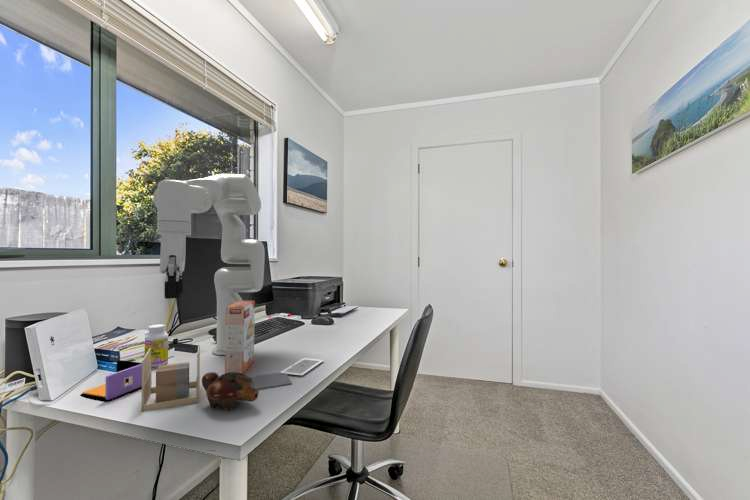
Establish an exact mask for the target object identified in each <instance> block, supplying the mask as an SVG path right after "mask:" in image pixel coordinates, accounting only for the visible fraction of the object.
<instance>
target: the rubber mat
mask: <svg viewBox="0 0 750 500" xmlns="http://www.w3.org/2000/svg"><path fill="white" fill-rule="evenodd" d="M250 379H251V381H252V387H253V388H256V389H257V390H258V391H260V390H264V389H271V388H278V387H283V386H288V385H292V384H293V382H292V381H291V379H290V377H289V376H288V374H286V373H279V372H274V373H267V374H259V375H253V376H252V375H251V376H250Z"/></svg>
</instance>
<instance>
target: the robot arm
mask: <svg viewBox="0 0 750 500" xmlns="http://www.w3.org/2000/svg"><path fill="white" fill-rule="evenodd" d="M152 199H153V203H154V206H155V208H156V211H157V213H156V214H157V217H156V222H157V223H156V228H157V229H156V230H157V231H156V235H161V237H160V253H159V255H160V258H159V273H160V274H161V275H163V274H165V281H164V299H166V300H167V299H179V298H180V297H181V294H183V291H184V290H183V285H184V283H183V282H184V278H183V272H185V266H186V254H187V253H186V250H187V249H186V246H187V245H186V244H187V242H186V241H187V240H186V237H187V236H192V214H202V213H207V211H210V209H211V208H212V207H213V208H214V210H215V212H216V214H217V216H218V217H217V218H219V221H220V223H221V226H222V227H221V228H222V231H221V246H220V247H221V248H220V259H221V261H222V262H224V263H226V264H231V265H233V264H234V265H250V266H249V267H248V266H243V267H242V266H228V267H227V266H225V267H221V268H219V269H217V271H215V273H214V277H213V282H214V287H215V295H216V346H214V347H213V348H212V349H211V353H212V354H214V355H218V356H225V349H226V307H228V306H230V305H232V304H234V303H236V302H237V301H244V300H243V298H242V297H241V296H240V294H239V293H257V292H259V291H261V290H262V288H263V286H264V276H265V258H266V257H265V256H266V255H265V253H266V252H265V246H264V244H263V242H262V240H261V241H260V240H258V239H254V238H253V239H251V238H250V239H246V237H247V235H246V234H247V226H246V225H245V223H244V222H243V220H242V219H241V218H240V217H239V216H240V215H241V216H254V215H257V214H259V213H260V211H261V208H262V202H261V197H260V195H259V192H258V191H257V188H256V186H255V185H254V182H253V181H252V179H251V178H250V177H249V176H247V175H246V174H241V173H240V174H239V173H237V174H236V173H233V174H232V173H218V174H214V175H209V176H207V177H203V178H195V179H189V180H176V179H162V180H160V181H159V182H158V184H157V188H156V189H155V191H154V193H153V197H152ZM212 205H213V206H212Z"/></svg>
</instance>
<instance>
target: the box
mask: <svg viewBox="0 0 750 500" xmlns="http://www.w3.org/2000/svg"><path fill="white" fill-rule="evenodd" d="M189 382H190V362H189V361H186V362H180V363H179V362H178V363H170V364H165V365H161V366H158V367H156V370H155V387H156V392H155V403H158V402H164V401H171V400H177V399H183V398H189V395H190V387H189Z"/></svg>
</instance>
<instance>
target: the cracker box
mask: <svg viewBox="0 0 750 500" xmlns="http://www.w3.org/2000/svg"><path fill="white" fill-rule="evenodd" d="M255 305H256V301H255V300H243V301H237V302H236V303H234V304H232V305H230V306H228V307H226V349H225V355H224V357H225V358H224V359H225V360H224V361H225V363H224V364H225V365H224V367H225V368H224V374H225V373H230V372H237V373H241V374H244V375H245V372H246V371H247V370H248V369H249V367H250V366H251V364H253V362H254V361H255V315H256V314H255V313H256V307H255Z"/></svg>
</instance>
